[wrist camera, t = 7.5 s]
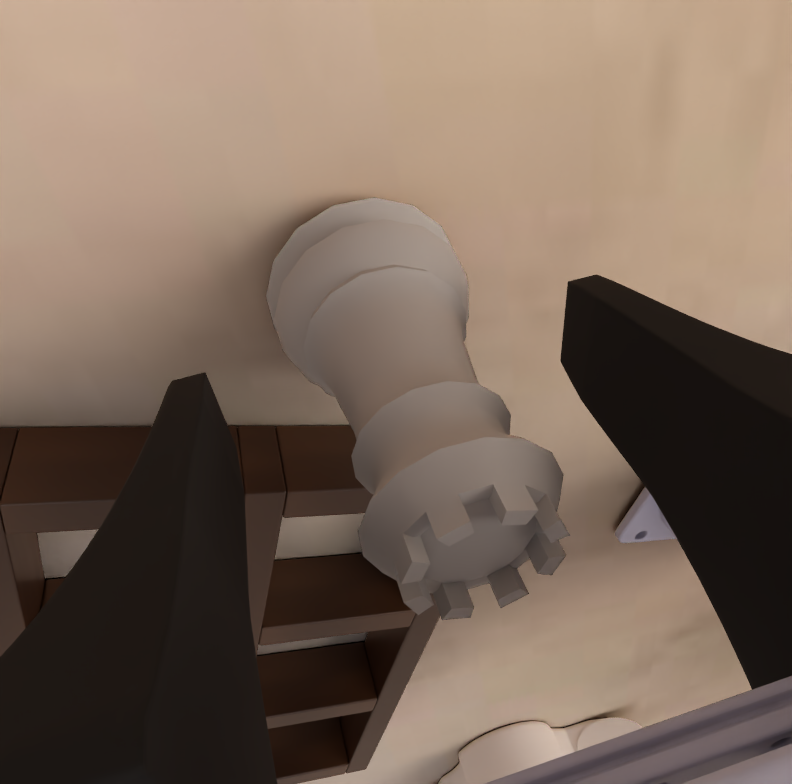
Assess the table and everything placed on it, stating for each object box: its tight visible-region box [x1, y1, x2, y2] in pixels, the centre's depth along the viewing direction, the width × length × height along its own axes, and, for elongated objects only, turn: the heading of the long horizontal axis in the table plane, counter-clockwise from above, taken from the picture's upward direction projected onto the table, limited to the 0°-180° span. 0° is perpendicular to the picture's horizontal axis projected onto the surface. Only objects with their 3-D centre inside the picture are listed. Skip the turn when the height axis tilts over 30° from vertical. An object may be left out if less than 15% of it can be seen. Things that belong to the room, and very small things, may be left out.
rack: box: [0, 426, 440, 784], centre depth 21 cm, size 13×19×2 cm
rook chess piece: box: [266, 197, 570, 620], centre depth 12 cm, size 4×4×8 cm
